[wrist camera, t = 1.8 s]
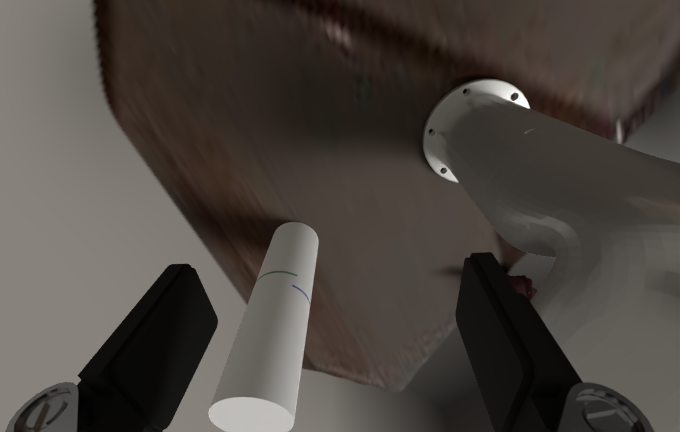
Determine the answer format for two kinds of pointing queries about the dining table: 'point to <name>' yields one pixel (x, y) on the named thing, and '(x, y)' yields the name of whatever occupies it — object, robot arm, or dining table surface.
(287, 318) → the cylindrical container
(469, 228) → the dining table surface
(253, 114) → the dining table surface
